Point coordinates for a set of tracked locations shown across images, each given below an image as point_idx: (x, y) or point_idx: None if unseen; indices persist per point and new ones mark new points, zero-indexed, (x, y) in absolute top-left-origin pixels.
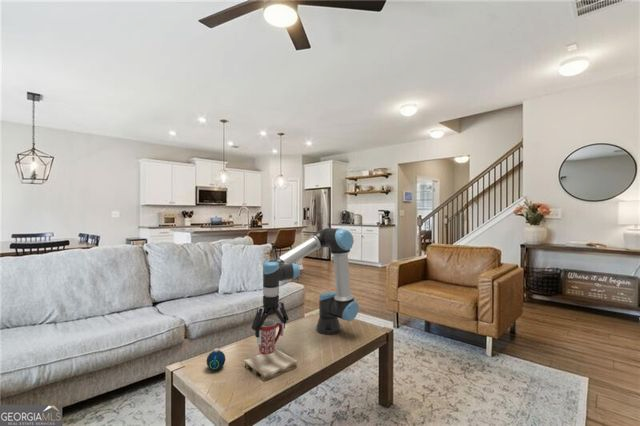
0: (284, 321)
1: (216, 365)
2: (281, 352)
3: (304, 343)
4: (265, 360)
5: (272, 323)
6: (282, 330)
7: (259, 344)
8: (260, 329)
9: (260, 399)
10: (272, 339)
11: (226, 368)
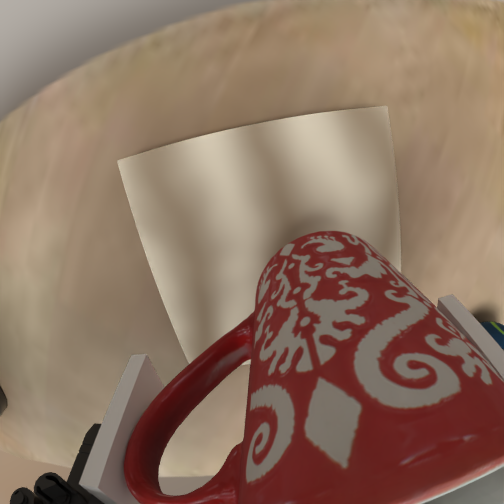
0: (65, 502)
1: (500, 325)
2: (172, 317)
3: (45, 356)
4: None
5: None
6: (127, 412)
7: (453, 299)
8: None
9: (431, 3)
10: (338, 294)
11: None
